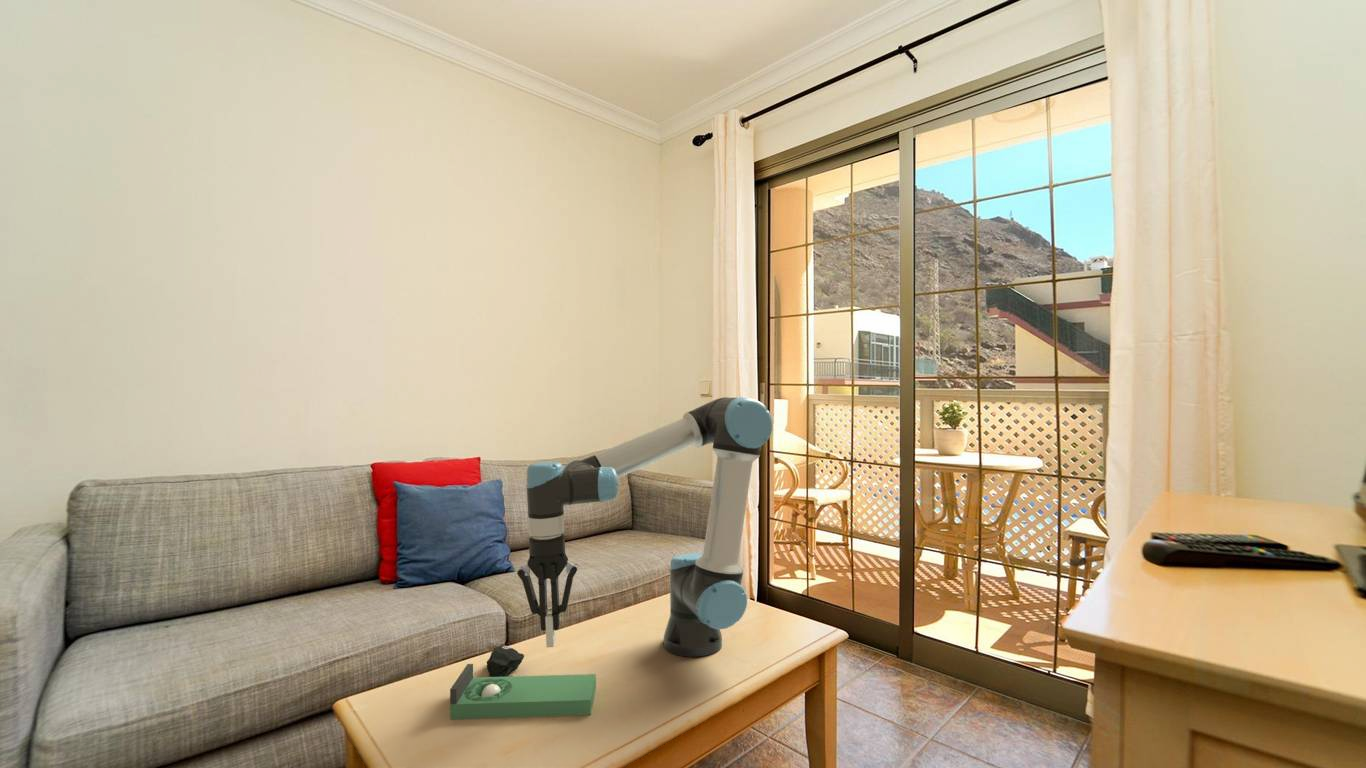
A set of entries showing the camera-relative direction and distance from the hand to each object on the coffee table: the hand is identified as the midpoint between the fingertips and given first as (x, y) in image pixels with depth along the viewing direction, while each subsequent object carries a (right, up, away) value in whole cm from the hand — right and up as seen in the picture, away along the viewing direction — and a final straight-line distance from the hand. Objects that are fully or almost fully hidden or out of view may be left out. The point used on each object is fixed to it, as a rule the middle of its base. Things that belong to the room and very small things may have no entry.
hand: (551, 644), depth 126 cm
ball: (-12, -9, -3) cm, 15 cm away
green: (-5, -11, -2) cm, 12 cm away
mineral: (-13, -12, +11) cm, 21 cm away
